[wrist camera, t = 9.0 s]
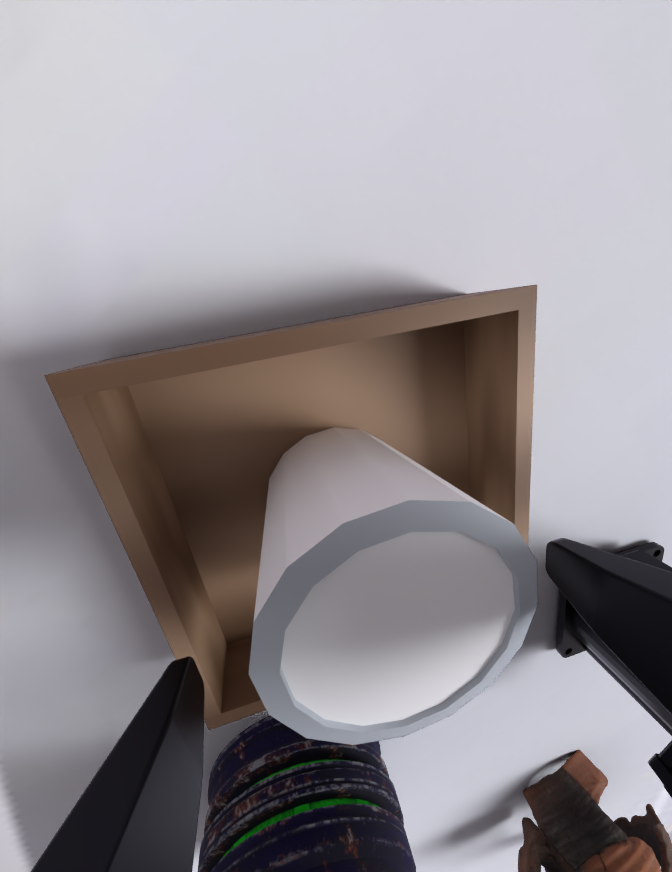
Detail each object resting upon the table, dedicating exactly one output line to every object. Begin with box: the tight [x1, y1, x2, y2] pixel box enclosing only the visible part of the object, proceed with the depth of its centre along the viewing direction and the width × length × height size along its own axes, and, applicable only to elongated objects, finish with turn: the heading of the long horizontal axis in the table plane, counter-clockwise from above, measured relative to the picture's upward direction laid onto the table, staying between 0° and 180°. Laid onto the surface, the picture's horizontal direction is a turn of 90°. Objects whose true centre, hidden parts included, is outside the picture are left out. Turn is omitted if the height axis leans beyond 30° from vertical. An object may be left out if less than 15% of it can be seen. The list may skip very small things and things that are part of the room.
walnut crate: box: [44, 285, 537, 730], centre depth 13 cm, size 13×13×4 cm
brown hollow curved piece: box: [518, 750, 672, 872], centre depth 26 cm, size 12×10×8 cm
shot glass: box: [249, 427, 538, 745], centre depth 11 cm, size 7×7×7 cm
